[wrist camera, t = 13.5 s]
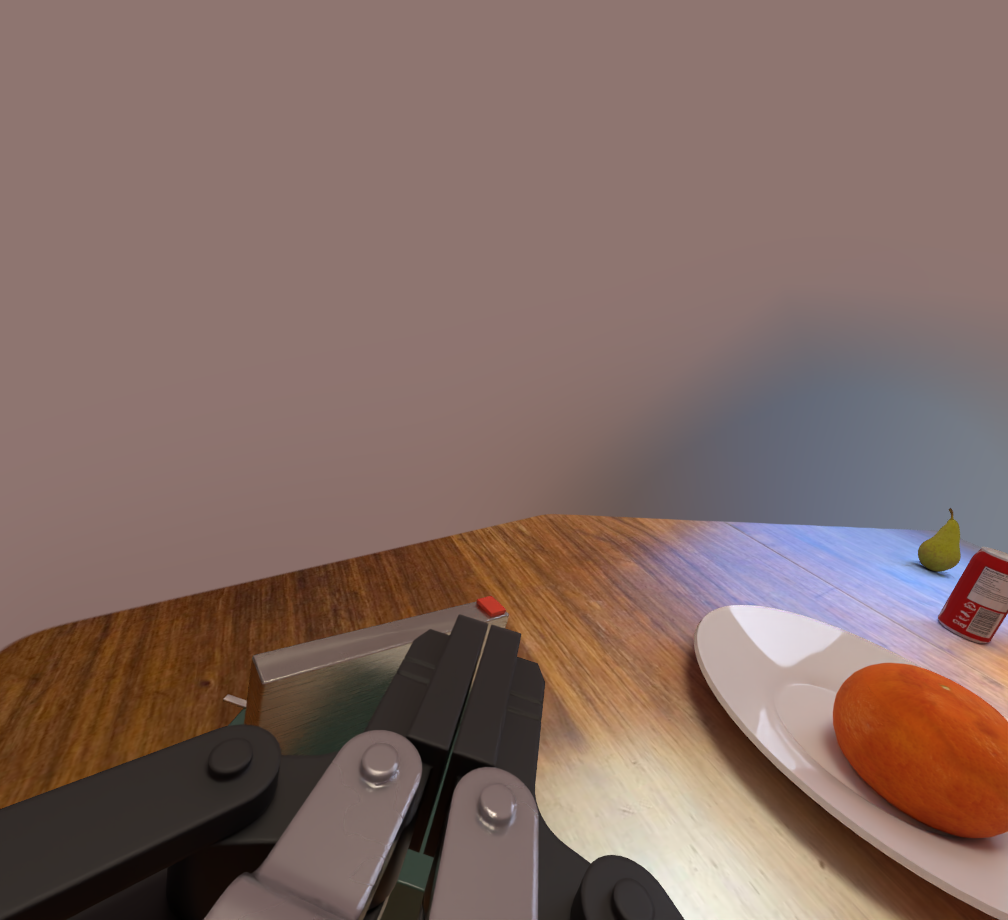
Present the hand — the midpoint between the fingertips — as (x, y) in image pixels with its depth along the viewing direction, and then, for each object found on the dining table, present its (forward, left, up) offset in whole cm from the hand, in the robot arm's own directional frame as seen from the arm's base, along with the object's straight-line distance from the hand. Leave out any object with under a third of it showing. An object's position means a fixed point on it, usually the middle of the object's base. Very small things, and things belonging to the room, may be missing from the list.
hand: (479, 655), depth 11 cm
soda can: (+61, +57, -17) cm, 85 cm away
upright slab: (-4, +9, -14) cm, 17 cm away
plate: (+30, +25, -17) cm, 43 cm away
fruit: (+76, +85, -17) cm, 115 cm away
